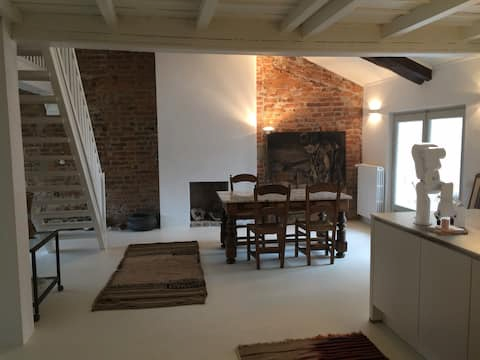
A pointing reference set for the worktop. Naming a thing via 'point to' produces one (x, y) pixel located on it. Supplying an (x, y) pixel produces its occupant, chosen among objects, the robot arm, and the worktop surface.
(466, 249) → the worktop surface
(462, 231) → the board
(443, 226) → the stub
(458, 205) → the milk carton
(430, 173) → the robot arm
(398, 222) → the worktop surface
